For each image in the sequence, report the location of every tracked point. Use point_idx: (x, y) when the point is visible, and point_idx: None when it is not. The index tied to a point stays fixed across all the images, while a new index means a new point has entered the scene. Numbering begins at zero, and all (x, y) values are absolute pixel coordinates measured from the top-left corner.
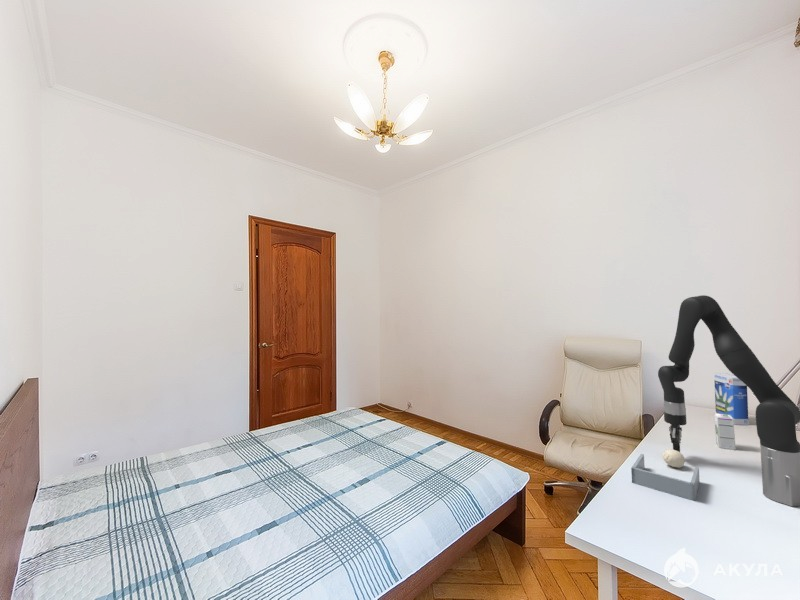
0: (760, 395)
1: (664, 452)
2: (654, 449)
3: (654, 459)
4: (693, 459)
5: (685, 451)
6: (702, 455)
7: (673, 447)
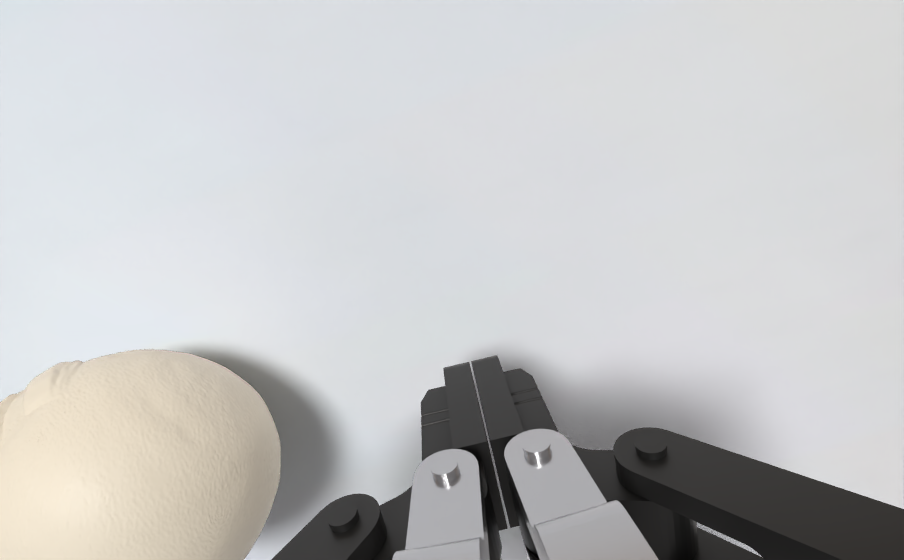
0: None
1: (18, 433)
2: (602, 13)
3: (191, 185)
4: (609, 438)
5: (824, 302)
6: (811, 444)
7: (451, 405)
